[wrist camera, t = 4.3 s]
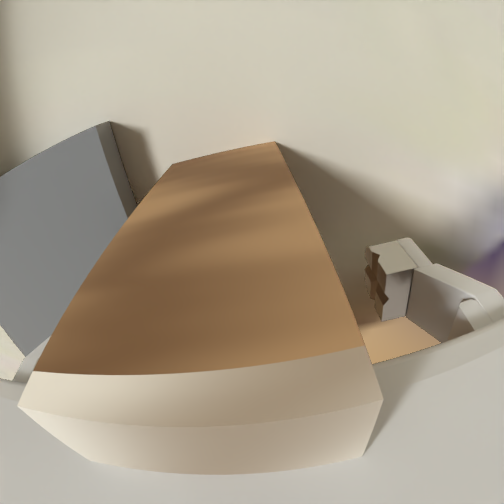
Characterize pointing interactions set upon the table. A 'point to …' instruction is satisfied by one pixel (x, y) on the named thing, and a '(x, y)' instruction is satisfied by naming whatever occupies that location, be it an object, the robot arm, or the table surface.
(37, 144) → the table surface
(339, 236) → the table surface
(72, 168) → the slate board
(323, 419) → the brown and cream block
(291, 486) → the robot arm
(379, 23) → the table surface
